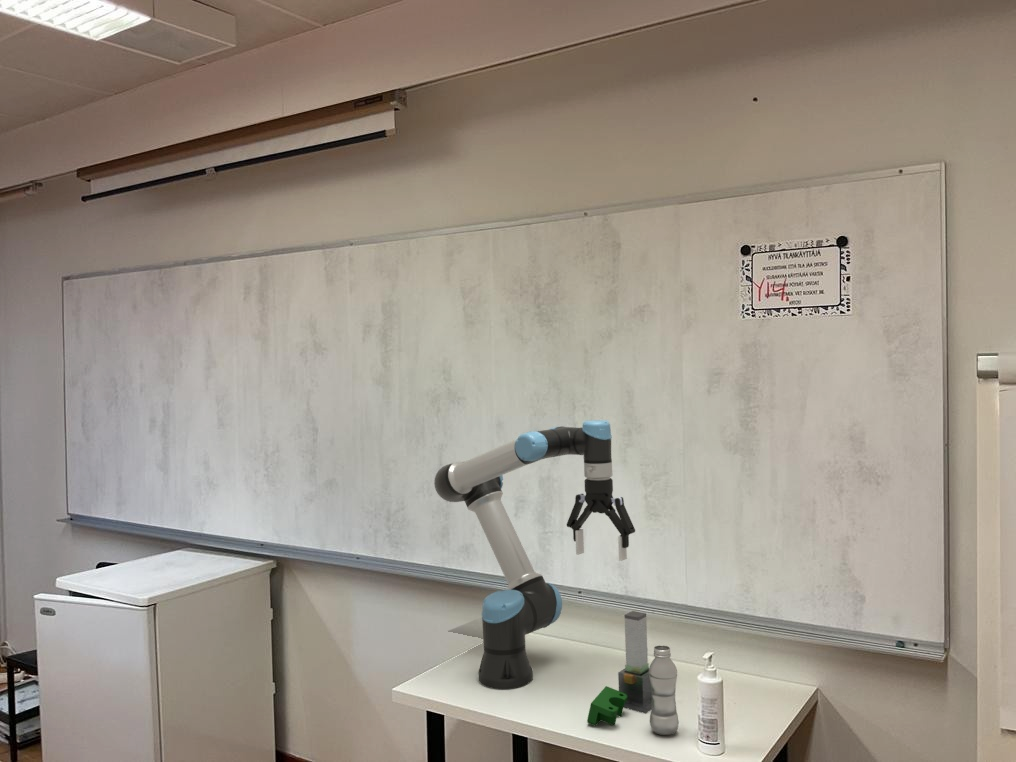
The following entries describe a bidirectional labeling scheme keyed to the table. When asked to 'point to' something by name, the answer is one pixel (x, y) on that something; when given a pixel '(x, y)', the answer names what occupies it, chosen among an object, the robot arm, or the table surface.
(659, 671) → the plastic bottle
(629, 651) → the column
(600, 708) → the clamp
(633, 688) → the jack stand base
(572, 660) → the table surface
